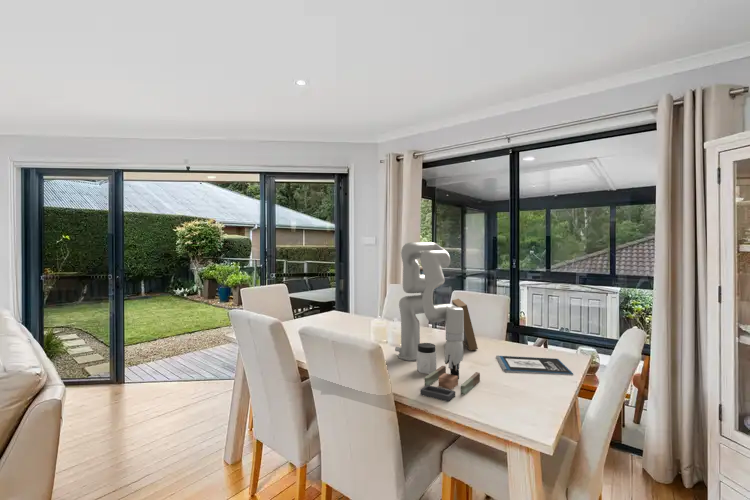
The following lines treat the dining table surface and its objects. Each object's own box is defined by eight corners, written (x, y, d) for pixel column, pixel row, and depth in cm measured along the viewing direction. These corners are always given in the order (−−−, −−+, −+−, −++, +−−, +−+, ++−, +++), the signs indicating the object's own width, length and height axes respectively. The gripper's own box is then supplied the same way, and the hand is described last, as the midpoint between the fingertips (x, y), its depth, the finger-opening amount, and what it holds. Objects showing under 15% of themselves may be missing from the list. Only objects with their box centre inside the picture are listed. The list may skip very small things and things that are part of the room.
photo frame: (468, 340, 231) (468, 298, 231) (477, 350, 210) (477, 304, 209) (443, 340, 232) (443, 298, 231) (450, 351, 210) (449, 305, 209)
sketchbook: (573, 376, 172) (573, 371, 172) (503, 373, 176) (503, 368, 176) (557, 361, 193) (557, 356, 193) (495, 358, 198) (495, 354, 198)
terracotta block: (438, 386, 160) (438, 377, 160) (444, 382, 165) (444, 373, 165) (451, 390, 156) (452, 380, 156) (458, 385, 161) (458, 375, 161)
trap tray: (420, 394, 151) (420, 389, 151) (427, 389, 156) (427, 384, 156) (449, 401, 144) (449, 396, 144) (455, 396, 149) (455, 391, 149)
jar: (415, 372, 176) (415, 346, 175) (418, 367, 183) (418, 342, 183) (434, 374, 173) (434, 348, 173) (437, 369, 181) (437, 343, 180)
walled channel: (424, 386, 160) (424, 377, 160) (442, 373, 175) (442, 365, 175) (464, 395, 150) (464, 386, 150) (479, 380, 165) (479, 372, 165)
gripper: (453, 331, 172) (453, 372, 173) (439, 339, 160) (439, 383, 160) (469, 333, 168) (469, 375, 168) (456, 341, 155) (456, 386, 156)
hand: (454, 379), depth 164 cm, fingers closed
